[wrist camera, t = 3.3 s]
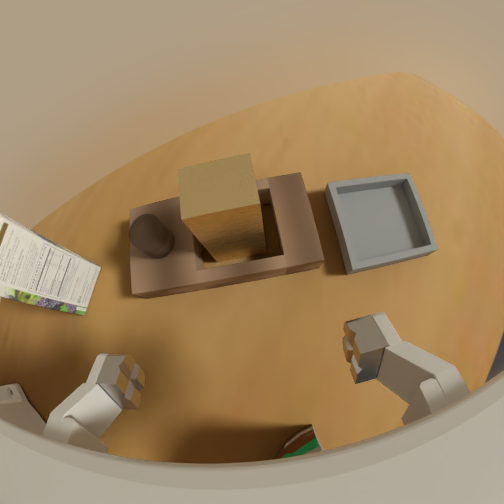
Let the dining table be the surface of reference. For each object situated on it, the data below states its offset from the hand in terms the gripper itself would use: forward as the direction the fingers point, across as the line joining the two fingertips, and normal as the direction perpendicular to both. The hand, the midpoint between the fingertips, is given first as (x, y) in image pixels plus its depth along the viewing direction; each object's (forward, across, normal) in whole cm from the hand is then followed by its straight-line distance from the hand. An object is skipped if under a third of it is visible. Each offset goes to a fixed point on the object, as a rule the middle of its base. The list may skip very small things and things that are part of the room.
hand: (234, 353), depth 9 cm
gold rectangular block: (+16, 0, +3) cm, 16 cm away
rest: (+15, -13, +4) cm, 21 cm away
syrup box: (+15, +19, +4) cm, 25 cm away
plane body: (+16, +2, +3) cm, 16 cm away
